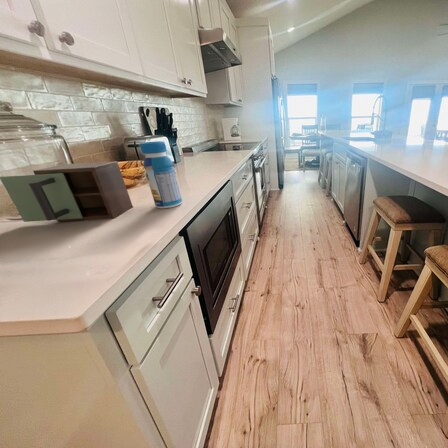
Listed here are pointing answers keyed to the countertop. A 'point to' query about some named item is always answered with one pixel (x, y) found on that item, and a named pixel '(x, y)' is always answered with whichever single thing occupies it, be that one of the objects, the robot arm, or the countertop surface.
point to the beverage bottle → (160, 175)
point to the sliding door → (42, 197)
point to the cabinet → (94, 188)
